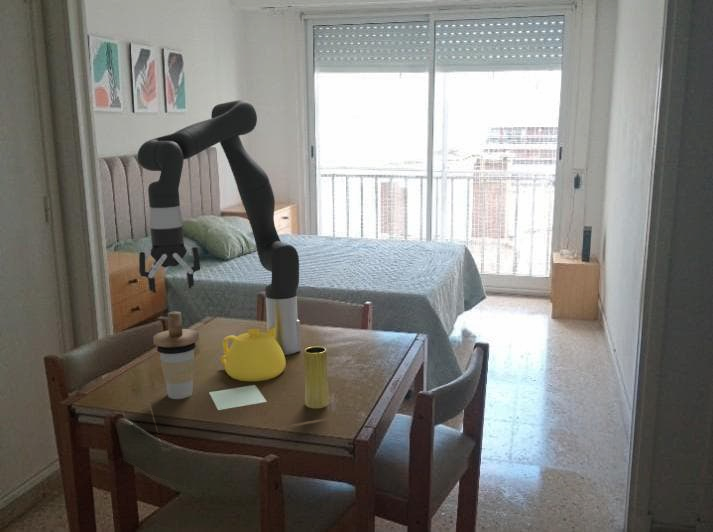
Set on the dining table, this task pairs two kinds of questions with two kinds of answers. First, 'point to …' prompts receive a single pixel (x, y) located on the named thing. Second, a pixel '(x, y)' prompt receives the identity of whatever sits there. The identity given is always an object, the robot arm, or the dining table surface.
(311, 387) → the vase
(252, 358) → the teapot
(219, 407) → the mat
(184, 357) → the coffee cup
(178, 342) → the lid
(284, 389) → the dining table surface
